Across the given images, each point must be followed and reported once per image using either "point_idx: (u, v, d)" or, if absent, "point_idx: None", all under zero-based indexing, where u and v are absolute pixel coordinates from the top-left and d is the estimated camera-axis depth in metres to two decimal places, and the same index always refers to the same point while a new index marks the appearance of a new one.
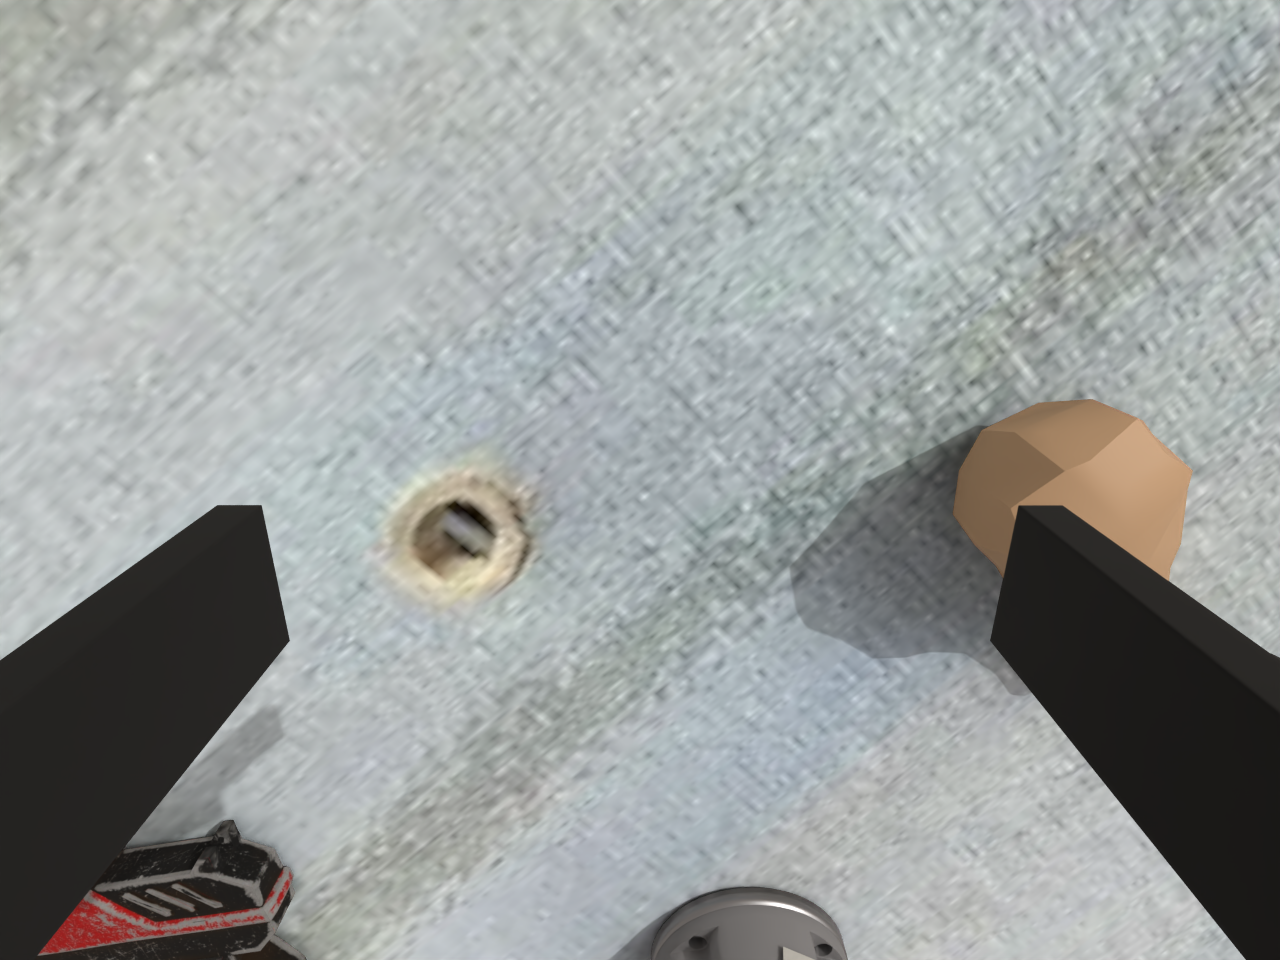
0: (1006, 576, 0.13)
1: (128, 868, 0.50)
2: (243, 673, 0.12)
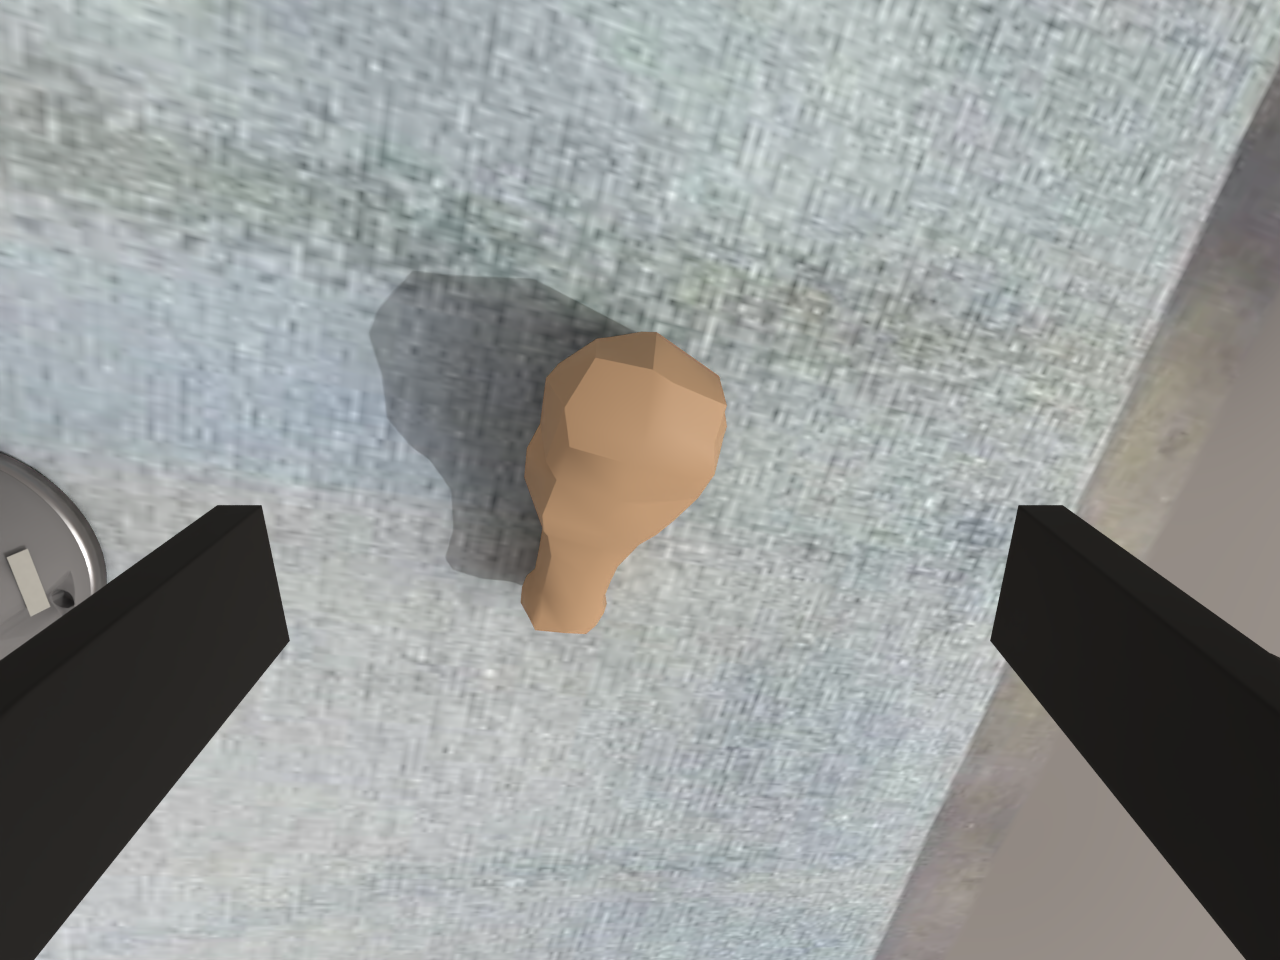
0: (1005, 576, 0.13)
1: None
2: (243, 673, 0.12)
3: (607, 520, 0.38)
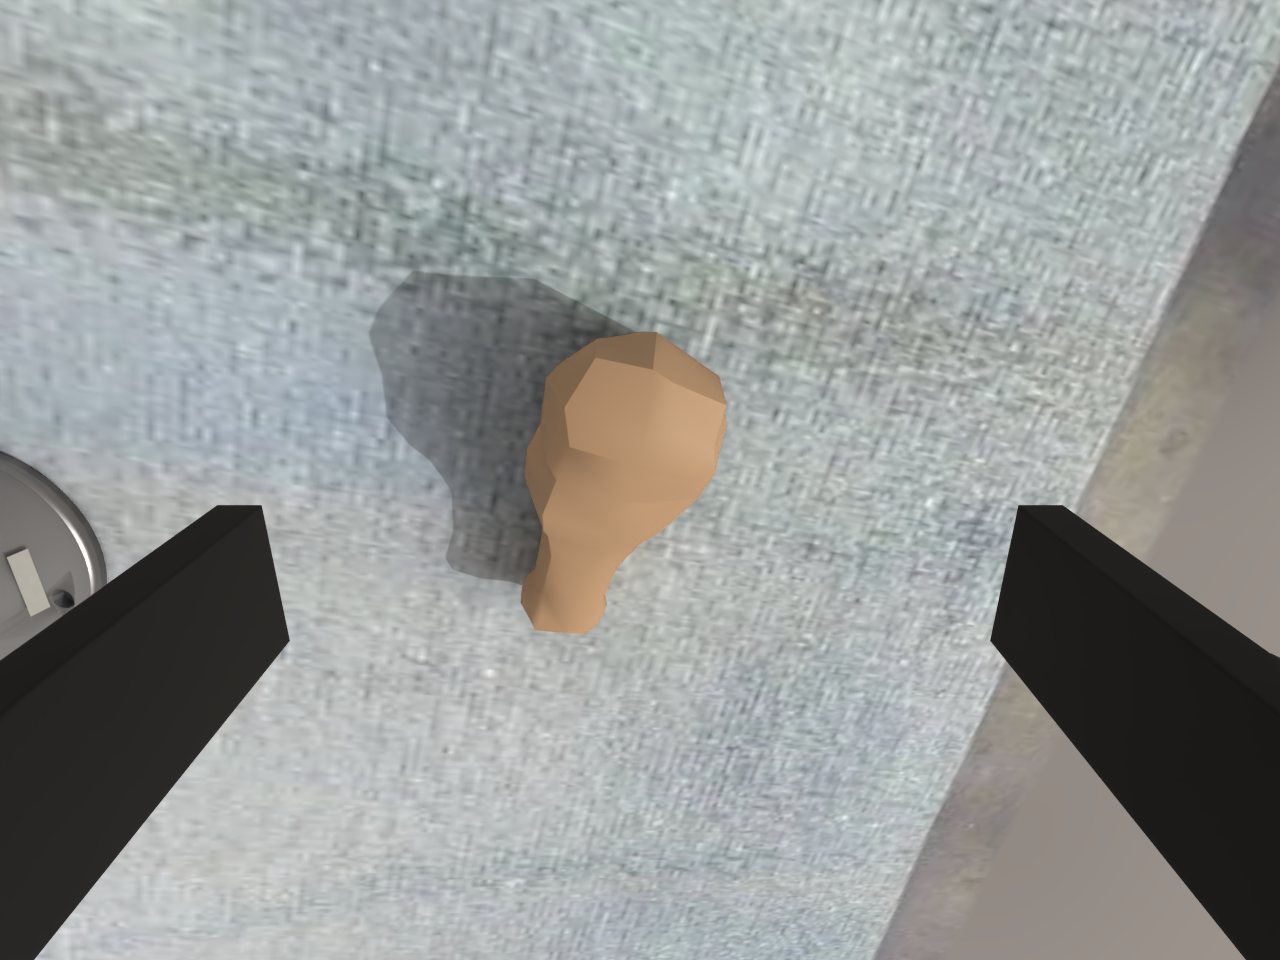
0: (1005, 576, 0.13)
1: None
2: (243, 673, 0.12)
3: (607, 520, 0.38)
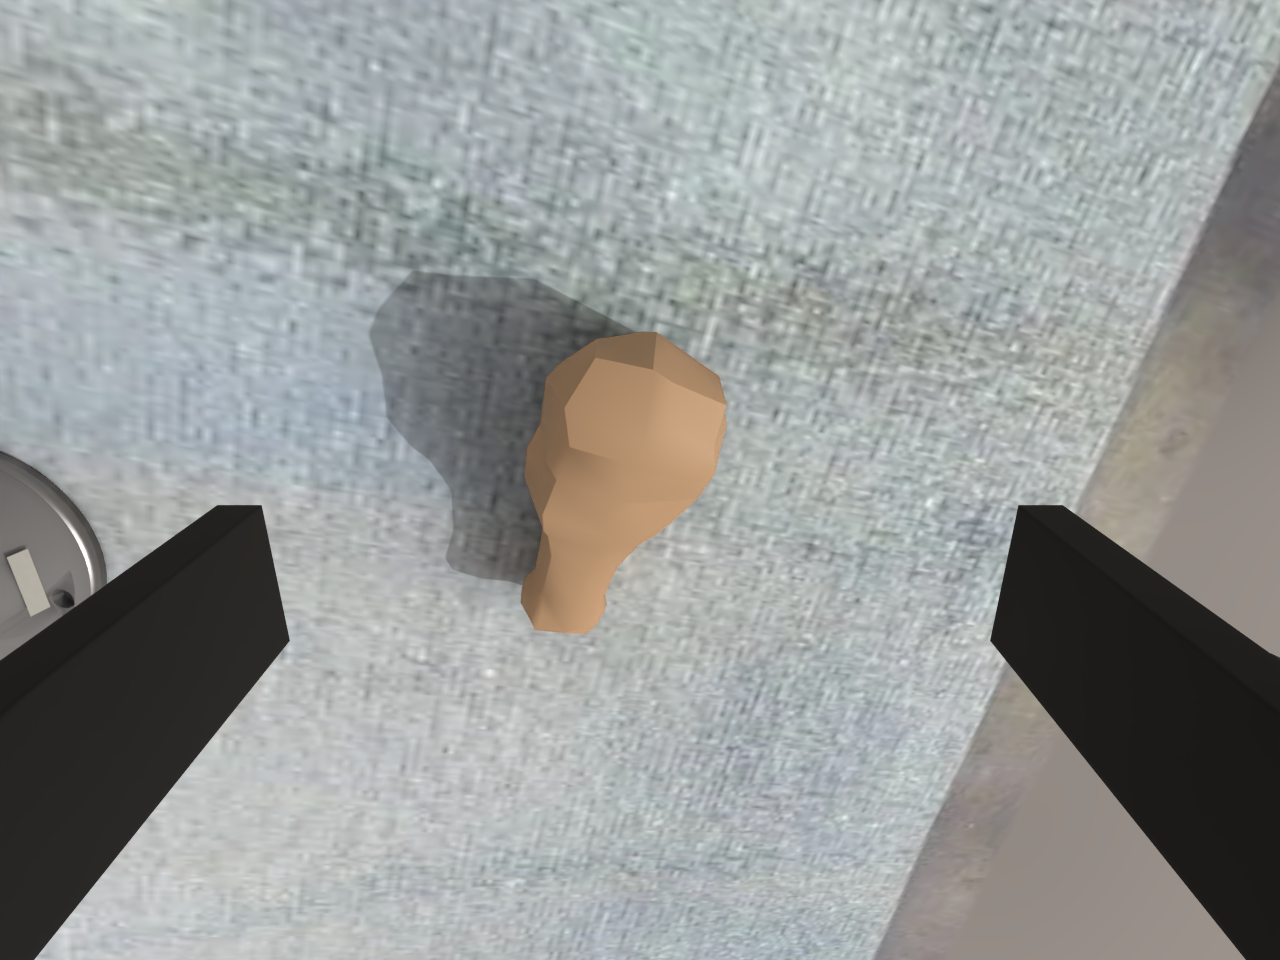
0: (1005, 576, 0.13)
1: None
2: (243, 673, 0.12)
3: (607, 520, 0.38)
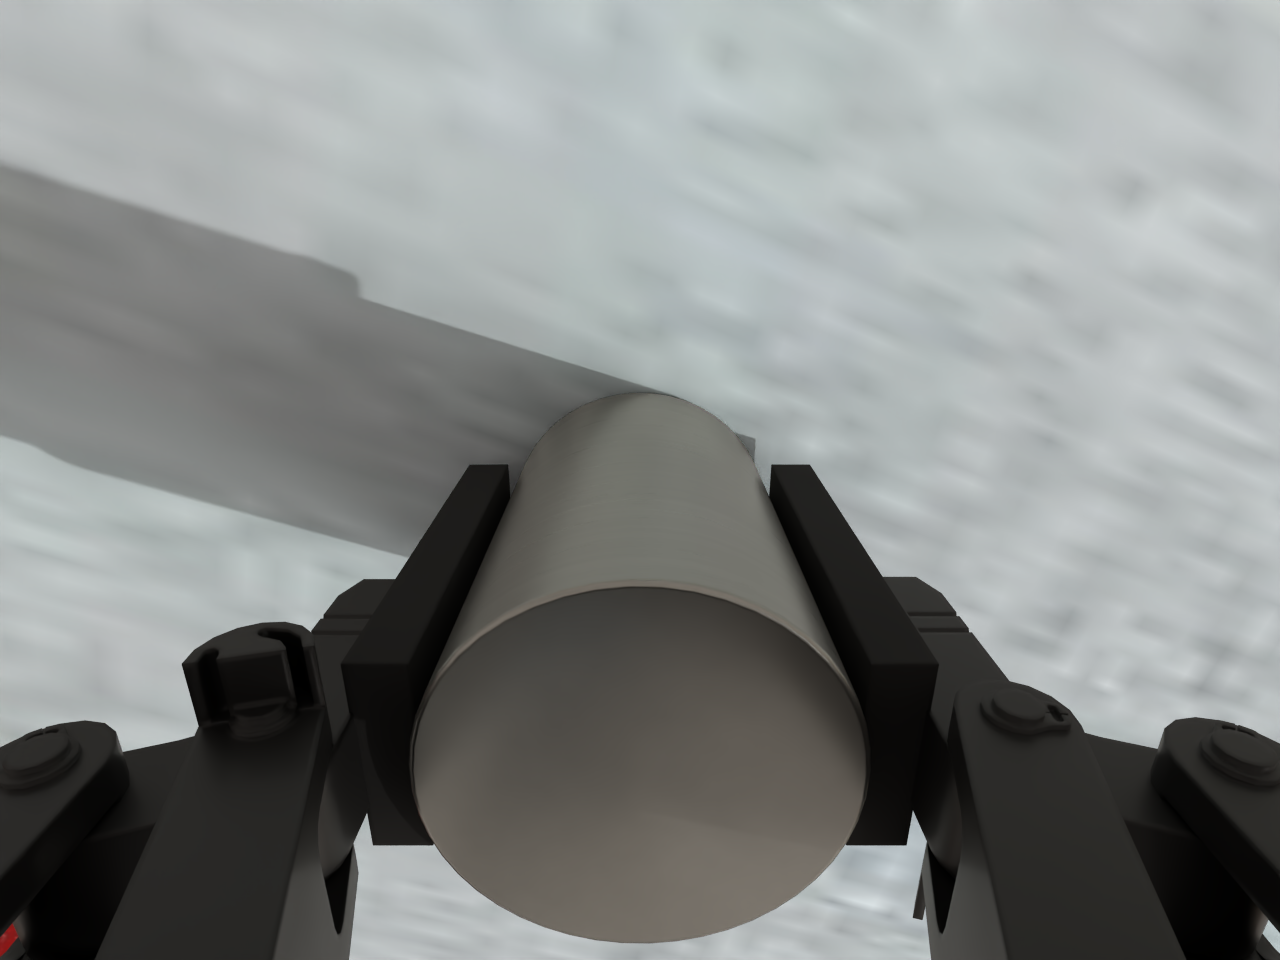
0: None
1: None
2: None
3: None
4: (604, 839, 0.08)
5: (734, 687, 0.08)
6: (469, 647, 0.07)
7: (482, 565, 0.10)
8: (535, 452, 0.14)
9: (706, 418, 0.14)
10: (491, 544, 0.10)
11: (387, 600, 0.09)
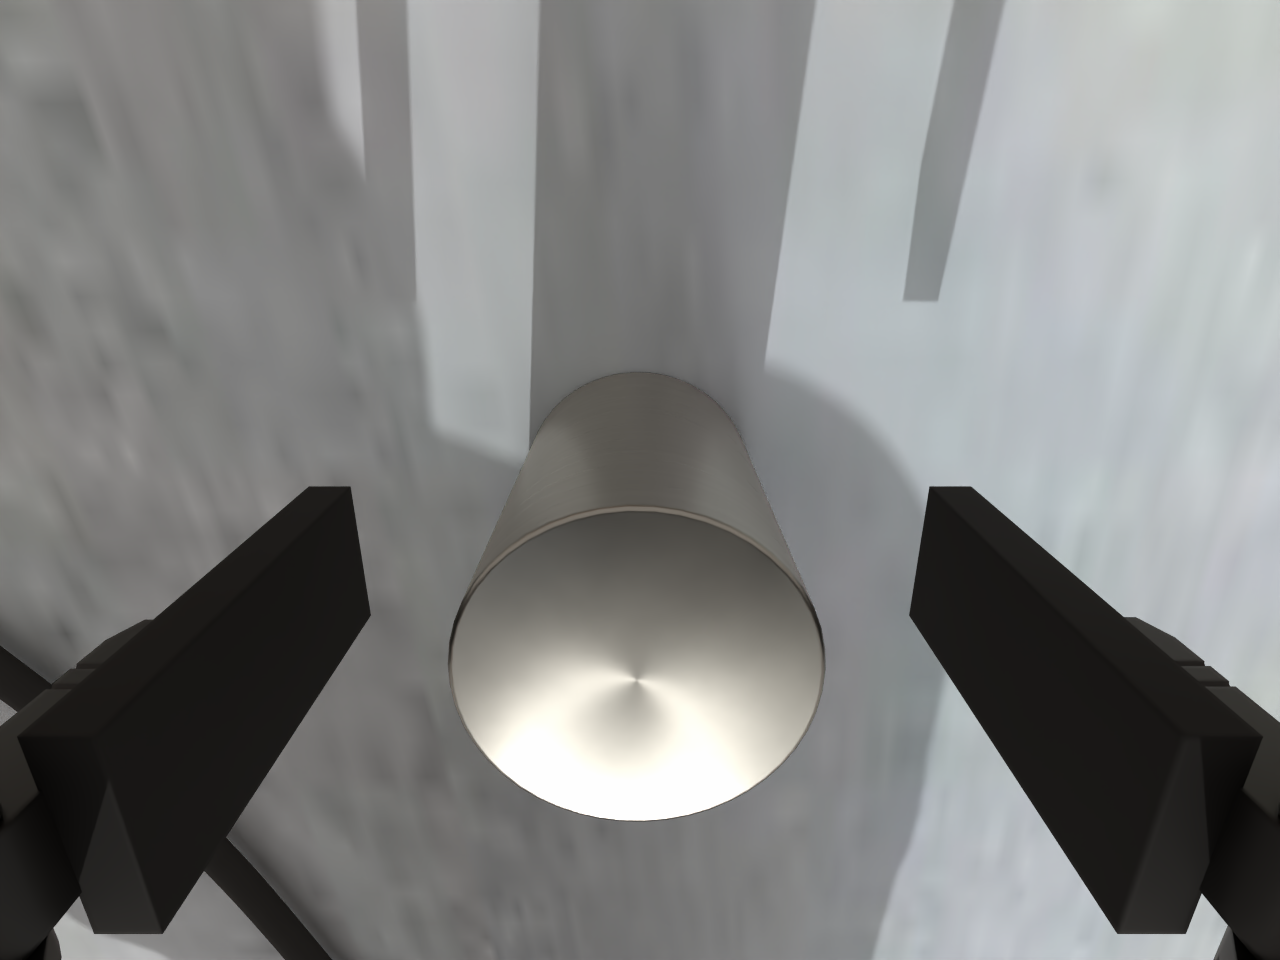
0: (921, 554, 0.13)
1: None
2: (337, 643, 0.12)
3: None
4: (608, 727, 0.10)
5: (713, 596, 0.09)
6: (499, 562, 0.09)
7: (503, 511, 0.12)
8: (545, 424, 0.15)
9: (696, 394, 0.15)
10: (510, 496, 0.12)
11: (120, 652, 0.08)
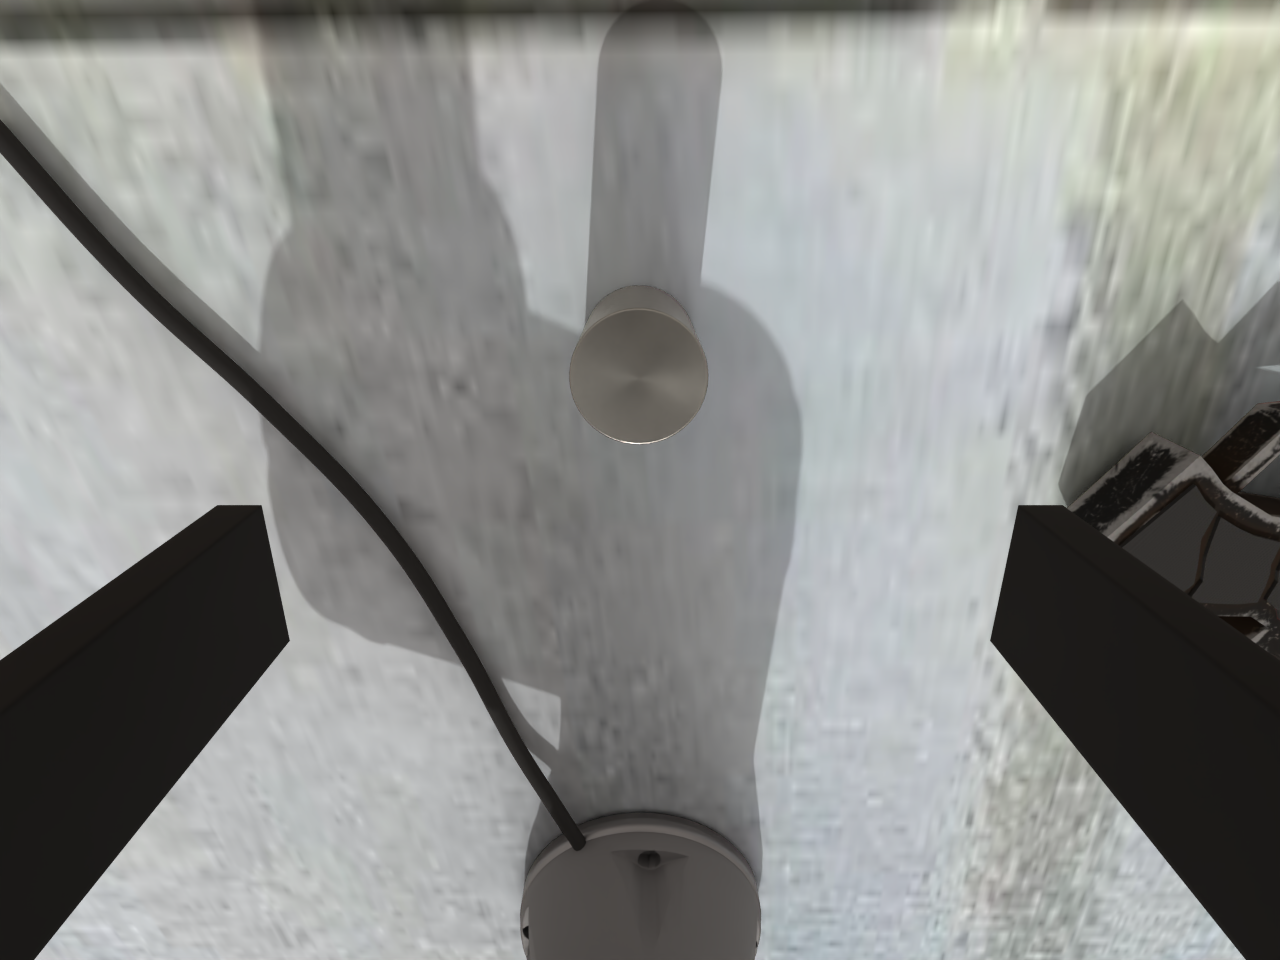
0: (1006, 576, 0.13)
1: None
2: (243, 673, 0.12)
3: None
4: (628, 399, 0.27)
5: (666, 343, 0.26)
6: (590, 329, 0.26)
7: None
8: (595, 308, 0.32)
9: (667, 294, 0.32)
10: (585, 327, 0.29)
11: None
